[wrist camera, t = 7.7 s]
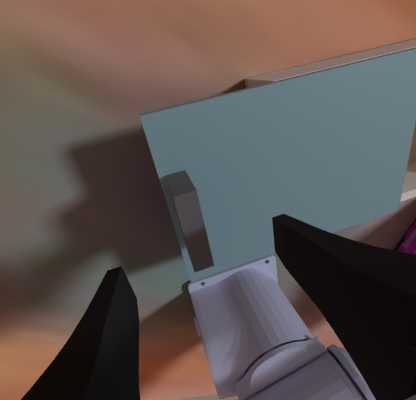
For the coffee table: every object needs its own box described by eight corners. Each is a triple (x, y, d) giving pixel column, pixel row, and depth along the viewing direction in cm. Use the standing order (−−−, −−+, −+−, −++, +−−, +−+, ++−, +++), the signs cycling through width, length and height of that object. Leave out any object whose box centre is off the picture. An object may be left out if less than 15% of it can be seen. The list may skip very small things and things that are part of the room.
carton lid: (189, 276, 20) (200, 314, 17) (139, 114, 14) (142, 126, 11) (392, 207, 22) (435, 229, 19) (420, 46, 17) (488, 40, 13)
